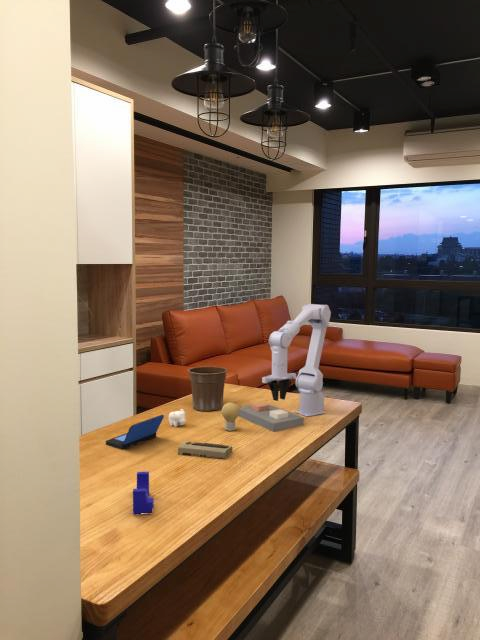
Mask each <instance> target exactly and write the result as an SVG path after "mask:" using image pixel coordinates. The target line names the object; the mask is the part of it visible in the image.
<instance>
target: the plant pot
mask: <svg viewBox="0 0 480 640" xmlns="http://www.w3.org/2000/svg"><path fill="white" fill-rule="evenodd" d="M187 372H188V373H189V380H190V383H191V394H192V395H191V397H192V408H193V409H195V410H196V411H200V412H212V411H219V410H222V407H223V406H224V404H223V403H224V391H225V382H226V380H227V379H226V378H227V372H228V369H227V368H226V367H220V366H211V365H210V366H197V367H195V366H194V367H191V368H189V369H187Z"/></svg>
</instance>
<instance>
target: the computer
mask: <svg viewBox="0 0 480 640" xmlns="http://www.w3.org/2000/svg"><path fill="white" fill-rule="evenodd" d="M232 453H233V446H232V445H226V444H225V445H224V444H219V443H209V442H208V443H207V442H196V441H185V442H183V443H181V444H179V446H178V448H177V455H178V456H179V455H181V456H184V455H188V456H191V457H197V458H198V457H199V458H205V459H206V458H207V459H208V458H209V459H218V460H224V461H225V460H227V458H228V457H229V456H230V455H231V454H232Z"/></svg>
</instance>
